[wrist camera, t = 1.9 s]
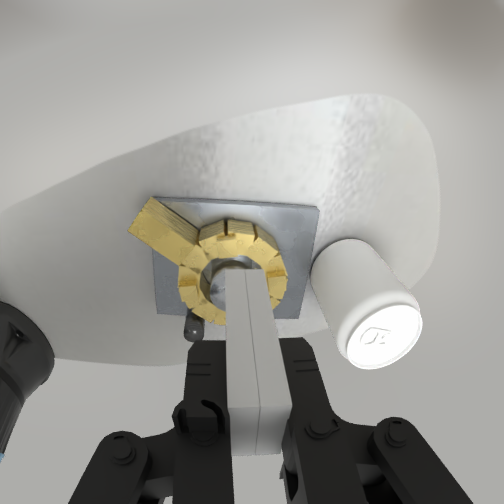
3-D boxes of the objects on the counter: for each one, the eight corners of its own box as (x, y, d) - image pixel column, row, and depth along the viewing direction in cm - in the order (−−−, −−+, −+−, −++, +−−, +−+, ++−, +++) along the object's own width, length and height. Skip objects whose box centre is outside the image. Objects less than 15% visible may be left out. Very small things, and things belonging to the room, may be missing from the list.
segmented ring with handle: (301, 259, 32) (310, 280, 28) (239, 322, 35) (241, 346, 31) (174, 163, 27) (166, 173, 23) (119, 244, 30) (106, 264, 26)
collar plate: (159, 307, 35) (149, 343, 29) (153, 197, 29) (137, 220, 24) (296, 312, 37) (307, 348, 31) (316, 206, 31) (335, 230, 25)
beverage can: (360, 302, 37) (400, 372, 26) (299, 294, 36) (327, 372, 25) (385, 243, 34) (441, 304, 23) (321, 229, 32) (365, 295, 21)
